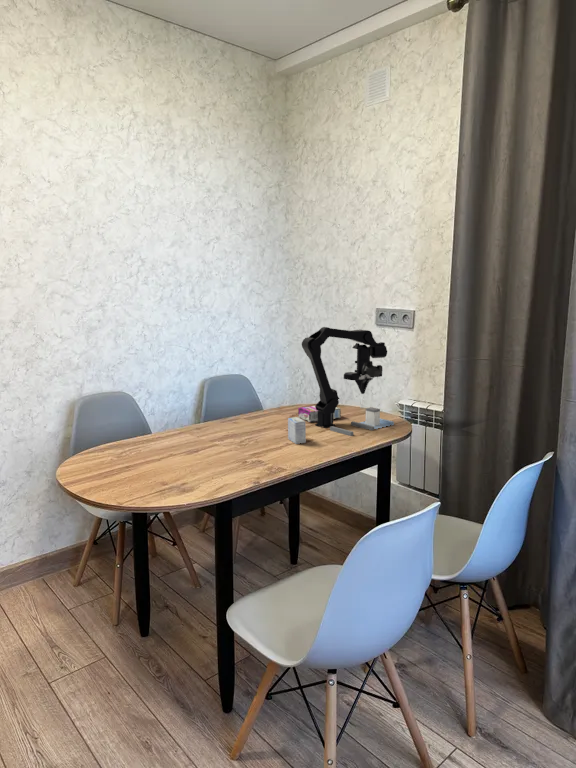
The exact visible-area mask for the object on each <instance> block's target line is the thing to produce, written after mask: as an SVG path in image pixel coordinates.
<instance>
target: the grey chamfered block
mask: <svg viewBox="0 0 576 768" xmlns="http://www.w3.org/2000/svg"><path fill="white" fill-rule="evenodd" d="M380 419H381V408H377V407H373V406H370V407H367V408H365V421H366V422H365V424H367V425H371V426H377V425H380Z"/></svg>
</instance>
